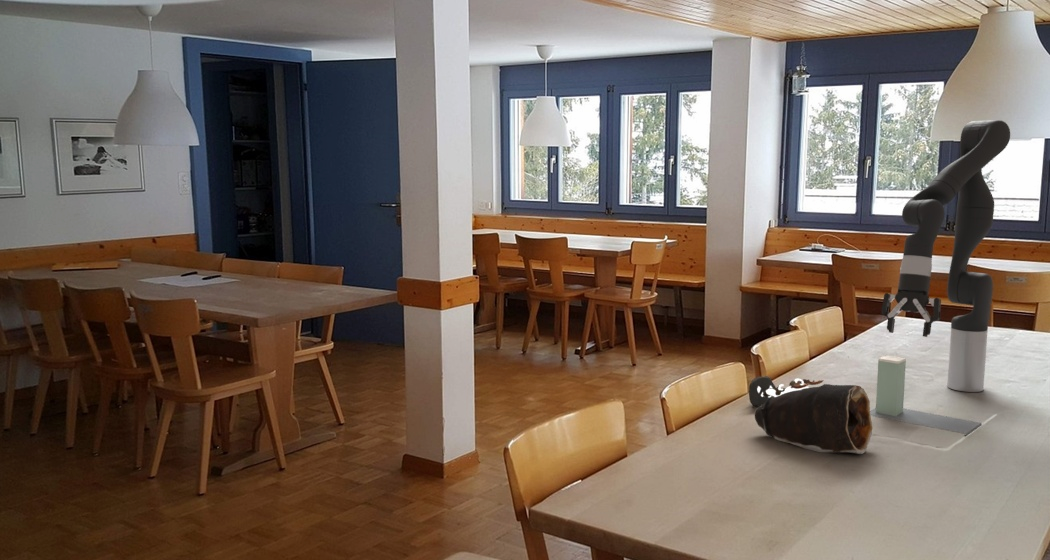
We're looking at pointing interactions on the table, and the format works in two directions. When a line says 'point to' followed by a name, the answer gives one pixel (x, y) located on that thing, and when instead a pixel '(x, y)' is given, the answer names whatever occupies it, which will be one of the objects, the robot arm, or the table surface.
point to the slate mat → (932, 420)
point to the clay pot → (819, 418)
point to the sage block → (890, 385)
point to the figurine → (773, 389)
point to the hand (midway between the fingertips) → (907, 334)
